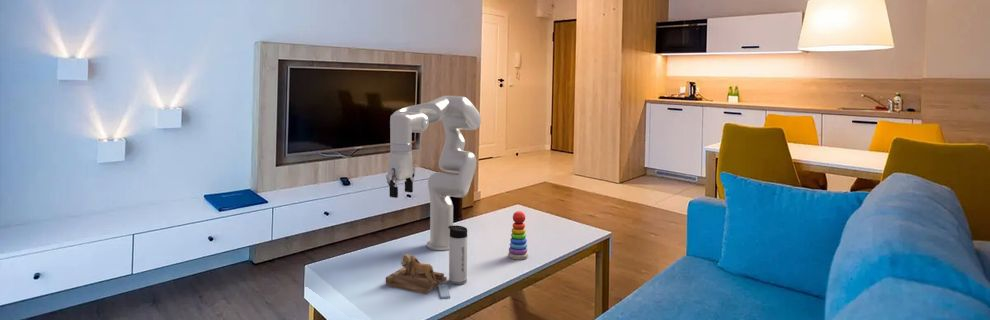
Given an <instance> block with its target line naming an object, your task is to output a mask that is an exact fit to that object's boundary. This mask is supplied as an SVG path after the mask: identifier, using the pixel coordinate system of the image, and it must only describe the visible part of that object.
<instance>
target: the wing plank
mask: <svg viewBox="0 0 990 320" xmlns="http://www.w3.org/2000/svg"><path fill="white" fill-rule="evenodd" d="M437 287H438V291H439V296H440V299H445V300H446V299H451V294H450V291H449V287H448V285H447V284H440V285H438V286H437Z"/></svg>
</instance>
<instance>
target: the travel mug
mask: <svg viewBox="0 0 990 320" xmlns="http://www.w3.org/2000/svg"><path fill="white" fill-rule="evenodd" d="M449 228H450V236H449V237H450V238H449V250H448V252H449V257H448V261H449V262H448V263H449V264H448V269H449V270H448V277H449V278H448V282H449V283H450V284H452V285H455V286H456V285H458V286H461V285H464V284H466V283H467V281H468V278H467V277H468V229H467V227H465V226H463V225H453V226H449ZM449 228H448V229H449Z"/></svg>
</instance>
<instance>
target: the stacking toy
mask: <svg viewBox="0 0 990 320" xmlns="http://www.w3.org/2000/svg"><path fill="white" fill-rule="evenodd" d="M512 220H513V222H514V223H512V228H511V233H510V237H511V238H510V241H509V242H510V243H509V247H508V254H507V256H508V257H509V258H510V259H512V260H525V259H527V258H528V257H529V253H528V248H527V247H528V244H527V241H528V239H527V238H526V237H527V235H526V229H525V228H526V224H525V221H526V214H525V213H524V212H523V211H522V210H521V211H519V210H518V211H516V212H514V213H513V214H512Z"/></svg>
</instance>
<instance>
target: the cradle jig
mask: <svg viewBox="0 0 990 320" xmlns="http://www.w3.org/2000/svg"><path fill="white" fill-rule="evenodd" d="M434 275H435V278H436V280H437V281H439V282H440V283H437V282H436V281H435V279H434V277H433V274H432V279H433V285H432V282H431V281H428V280H429V279H428V278H427V277H426V275H425V273H423V274H420V273H417V278H412V275H411V272H410V271H408V269H406V268H405V267H403V266H402V267H401V268H400V269H398V270H396V271H394V272H393V273H391V274H389V275H387V276H386V277H385V286H387V287H390V288H396V289H400V290H405V291H410V292H414V293H418V294H423V295H427V294H428V293H430V292H431V291H432V290H434V289H436V288H437V287H438V285H442V284H443V283H444V282H445V281H447V276H445V273H443V272H438V271H434Z"/></svg>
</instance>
